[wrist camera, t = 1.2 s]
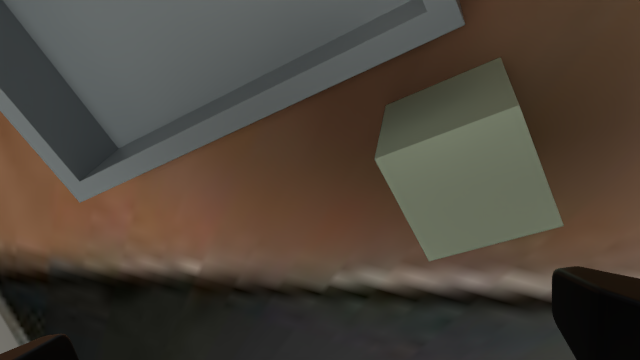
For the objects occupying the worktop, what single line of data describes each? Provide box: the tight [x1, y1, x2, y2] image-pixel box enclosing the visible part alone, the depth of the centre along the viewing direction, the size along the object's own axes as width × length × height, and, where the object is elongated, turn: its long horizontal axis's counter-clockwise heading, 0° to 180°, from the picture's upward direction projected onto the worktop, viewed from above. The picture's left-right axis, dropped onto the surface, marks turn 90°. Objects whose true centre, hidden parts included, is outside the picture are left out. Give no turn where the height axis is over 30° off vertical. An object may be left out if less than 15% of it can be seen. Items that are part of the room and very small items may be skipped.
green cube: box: [375, 57, 564, 261], centre depth 17 cm, size 4×4×4 cm
